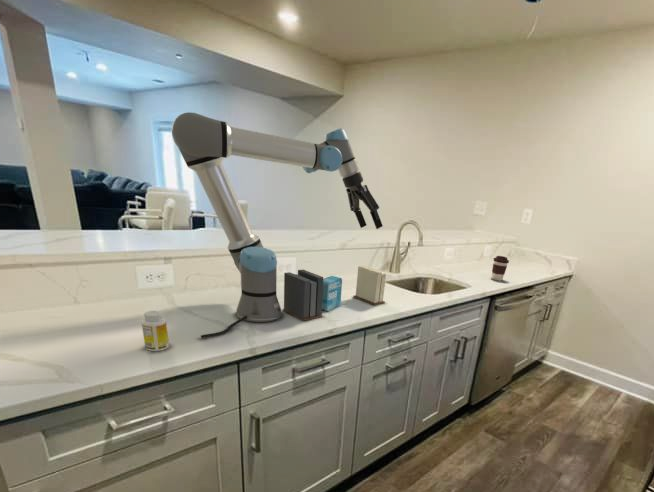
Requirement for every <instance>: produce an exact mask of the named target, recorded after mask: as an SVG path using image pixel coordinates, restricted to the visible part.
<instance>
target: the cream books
mask: <svg viewBox="0 0 654 492" xmlns="http://www.w3.org/2000/svg"><path fill="white" fill-rule="evenodd" d="M356 275H357V277H356V288H355V295H353V298H354V299H356V300H359V301H362V302H364V303H368V304H370V305H372V306H378V305H382V304H385V303H386V302H385V300H384V294H385V287H386V278H387V273H386V272H383V271H379V270H377V269H373V268H370V267H367V266H365V265H358V267H357V274H356Z"/></svg>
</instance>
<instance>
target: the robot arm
mask: <svg viewBox="0 0 654 492" xmlns="http://www.w3.org/2000/svg"><path fill="white" fill-rule="evenodd" d="M171 137H172V140H173V142H174V144H175V145H176V147H177V148H178V150H179V152H180V154H181V156H182V158H183V160H184V162H185V164H186V166H187V168H188V169H190V170H192V171H194V172H195V173H196V175H197V178H198V180H199V182H200V184H201V186H202V188H203V190H204V193H205V194H206V197H207V198H208V200H209V203H210V204H211V206H212V209H213V210H214V214H215V215H216V217H217V220H218V221H219V223H220V226H221V227H222V229H223V231H224V234H225V235H226V237H227V240H228V245H227V250H228V252H229V254H230V256H231V257H232V260H233V263H234V265H235V267H236V269H237V270H238V271H239V274H240V285H241V286H240V288H241V295H240V298H239V301H238V305H237V307H236V317H237V318H238V320H236V321H234V322H232V323H231V324H229V325H228V326H227V327H226V328H225V329H223V330H220V331H217V332H213V333H206V334H201V335H200V338H201V339H206V338H213V337H218V336H221V335H224V334H226V333H228V332H229V331H230V330H231V329H232V328H234V327H236V326H237V325H238V324H240V323H242V322H244V321H245V322H249V323H269V322H274V321H277V320H280V319H281V318H282V309H281V305H280V302H279V299H278V296H277V274H278V273H277V270H278V269H277V266H278V259H277V255H276V253H275V252H274V251H273V250H272V249H269V248H267V247H264V245H263V243H262V241H261V239H260V236H258V235H256V234H254V233H253V231H252V229H251V227H250V224H249V223H248V222H249V221H248V220H247V217H246V216H245V215H246V214H245V213H244V211H243V208H242V206H241V204H240V202H239V200H238V197H237V195H236V193H235V190H234V188H233V186H232V184H231V182H230V179H229V177H228V175H227V173H226V170H225V168H224V165H223V160H224V159H228V158H229V157H230V156H236V157H241V158H247V159H253V160H258V161H259V160H260V161H265V162H272V163H279V164H283V165H284V164H285V165H290V166H291V165H292V166H297V167H302V169H303V171H305V173H307V174H312V173H315V172H317V171H326V172H335V171H338V174H339V176H340V177H341V178H342V182H343V185H344V187H345V188H346V189H345V191H346V193H347V198H348V203H349V209H350V211H351V212H353V213H354V214H355V217H356V220H357V222H358V225H359V227H360V228H361V229H362V228H364V227H366V226H367V222H366V219H365V217H364V215H363V213H362V209H361V207H360V201H361V202H363V204H364V205H365V206H366V207H367V209H368V211H369V214H370V216H371V219H372V221H373V223H374V226H375V229H376V230H379V229H381V228H382V227H383V222H382V221H381V218H380V215H379V212H378V210H379V209H380V206H379V204H378V203H377V201H376V199H375V198H374V197H373V195H372V193H371V192H370V190H369V188H368V185H367V184H365V185H362V183H363V182H364V177H363V175H362V173H361V171H359V170H360V168H359V165H358V161H357V160H356V157H355V155H354V152H353V149H352V146H351V144H350V143H351V142H350V140H349V138H348V136H347V134H346V131H345V129H344V128H341V127H340V128H337V129H335V130H333V131H330V132H328V133H326V134H325V135H324V138H325V141H322V142H320V143H314V142H310V141H304V140H299V139H295V138H290V137H285V136H284V137H283V136H279V135H275V134H270V133H263V132H258V131H253V130H249V129H244V128H239V127H234V126H230V125H229V124H228V122H227V121H223V120H219V119H214V118H212V117H208V116H205V115H202V114H199V113H196V112H192V111H191V112H189V111H188V112H183V113H180V114H179V115H178V116H177V117H175V119H174V120H173V123H172V126H171Z"/></svg>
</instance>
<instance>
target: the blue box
mask: <svg viewBox="0 0 654 492" xmlns="http://www.w3.org/2000/svg"><path fill="white" fill-rule="evenodd" d="M342 288H343V278H342V277H340V276H339V277H338V276H334V275H330V276H326V277H323V294H322V311H325V312H330V311H331V310H333V309H335V308H337V307H339V306H340V305H341V301H342V291H343V289H342Z"/></svg>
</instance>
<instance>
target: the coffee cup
mask: <svg viewBox="0 0 654 492" xmlns="http://www.w3.org/2000/svg"><path fill="white" fill-rule="evenodd" d="M509 263H510V260H509V259H508V257H506V256H503V255H496V256H495V257H493V264H492V269H491V280H494V281H499V282H501V281H503V278H504V276H505V273H506V271H507V268H508V264H509Z"/></svg>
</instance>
